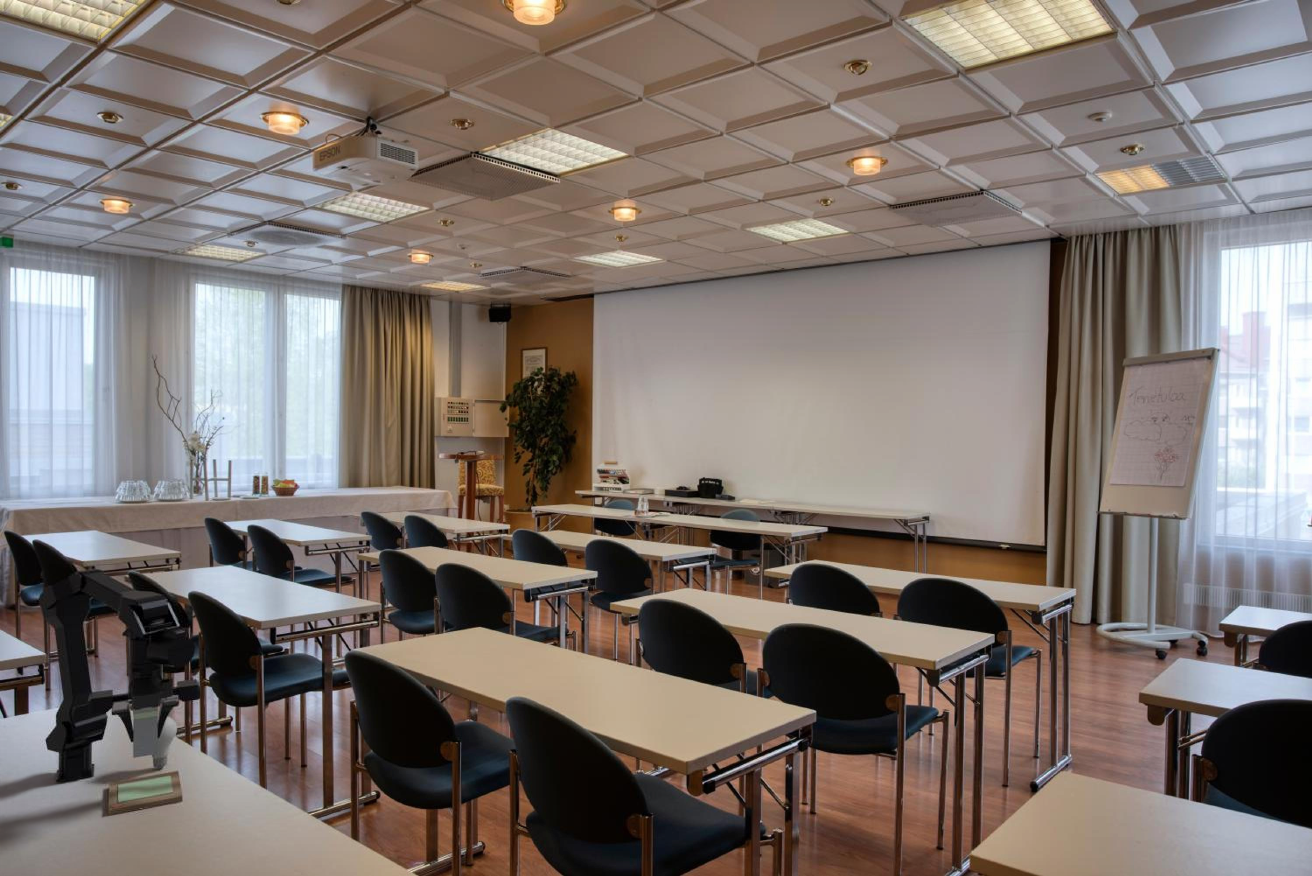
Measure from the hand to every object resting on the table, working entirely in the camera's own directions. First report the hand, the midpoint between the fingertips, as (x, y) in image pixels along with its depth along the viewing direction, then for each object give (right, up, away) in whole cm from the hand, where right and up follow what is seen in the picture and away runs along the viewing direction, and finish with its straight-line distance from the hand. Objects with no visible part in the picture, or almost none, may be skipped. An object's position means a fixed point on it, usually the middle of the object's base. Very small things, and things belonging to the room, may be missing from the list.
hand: (145, 739), depth 167 cm
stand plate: (0, -11, 0) cm, 11 cm away
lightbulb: (-4, -11, +13) cm, 17 cm away
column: (0, -3, 0) cm, 2 cm away
